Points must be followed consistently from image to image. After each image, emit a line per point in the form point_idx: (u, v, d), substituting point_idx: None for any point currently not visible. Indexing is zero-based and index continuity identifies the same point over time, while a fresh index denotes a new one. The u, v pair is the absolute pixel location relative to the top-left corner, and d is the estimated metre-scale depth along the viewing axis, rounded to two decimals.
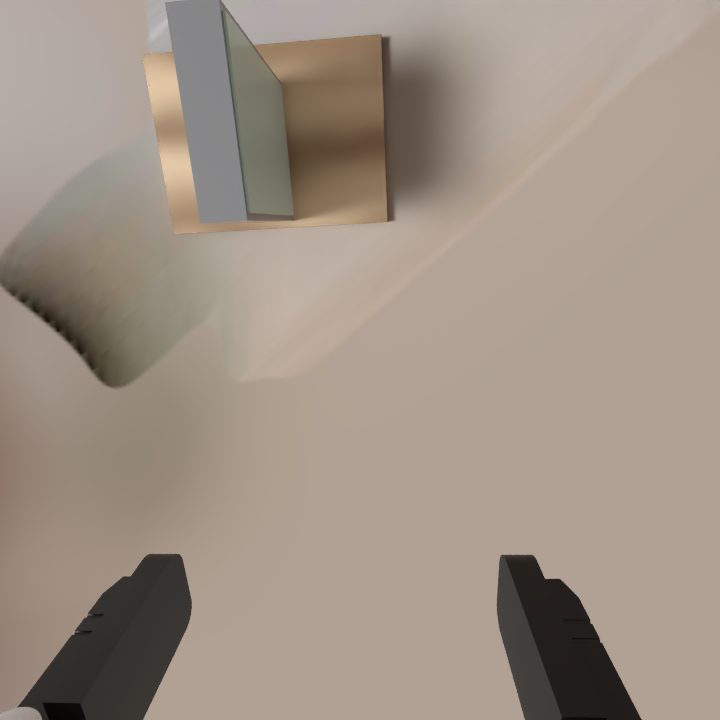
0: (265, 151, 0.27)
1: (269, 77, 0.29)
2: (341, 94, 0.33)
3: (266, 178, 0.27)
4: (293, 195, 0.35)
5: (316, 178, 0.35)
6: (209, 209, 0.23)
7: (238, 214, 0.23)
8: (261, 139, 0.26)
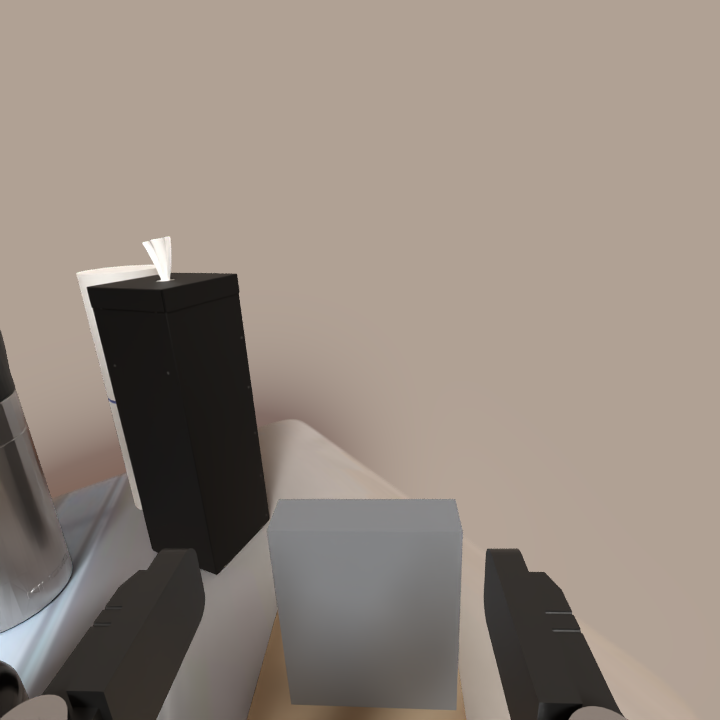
0: None
1: None
2: None
3: None
4: None
5: None
6: (447, 523, 0.22)
7: (449, 504, 0.24)
8: None
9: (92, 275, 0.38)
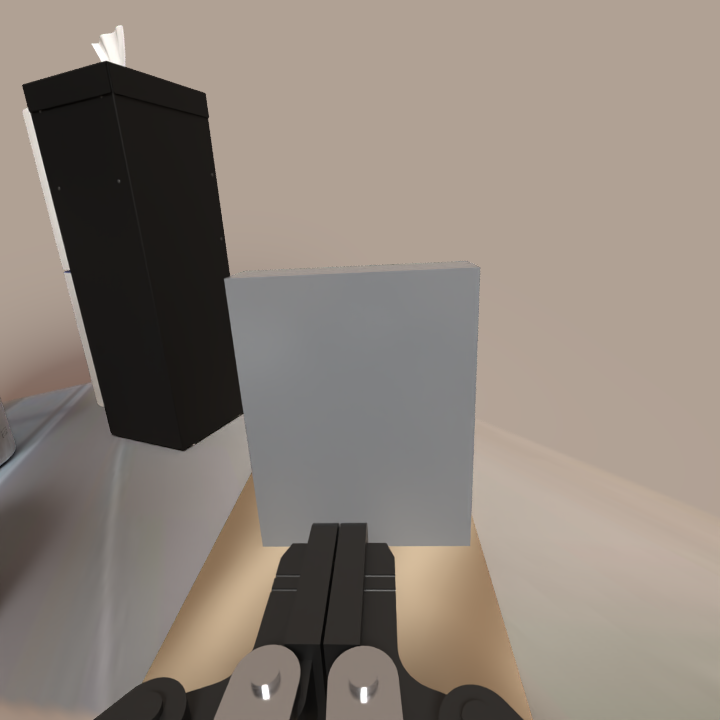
0: None
1: None
2: None
3: None
4: None
5: None
6: (459, 266, 0.17)
7: (461, 262, 0.19)
8: None
9: None
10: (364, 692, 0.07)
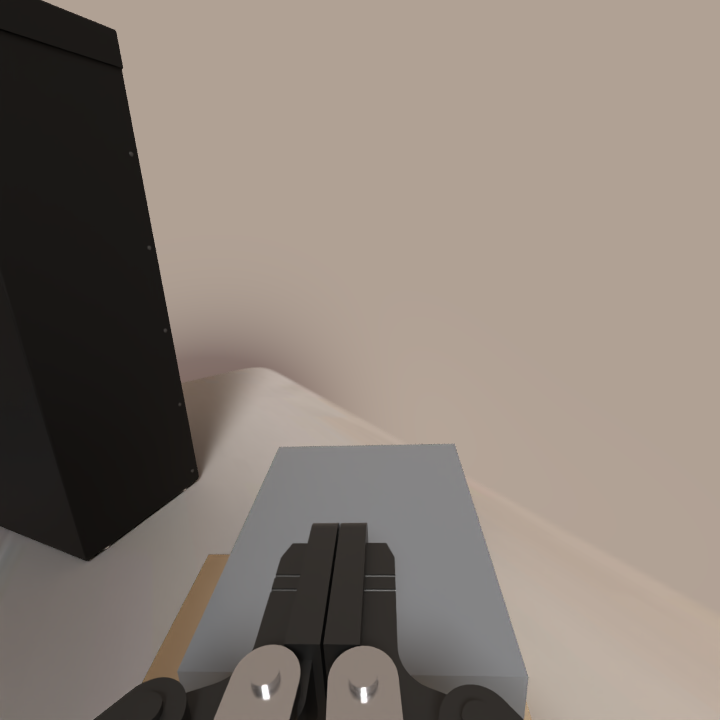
0: None
1: None
2: None
3: None
4: None
5: None
6: None
7: None
8: None
9: None
10: (364, 692, 0.07)
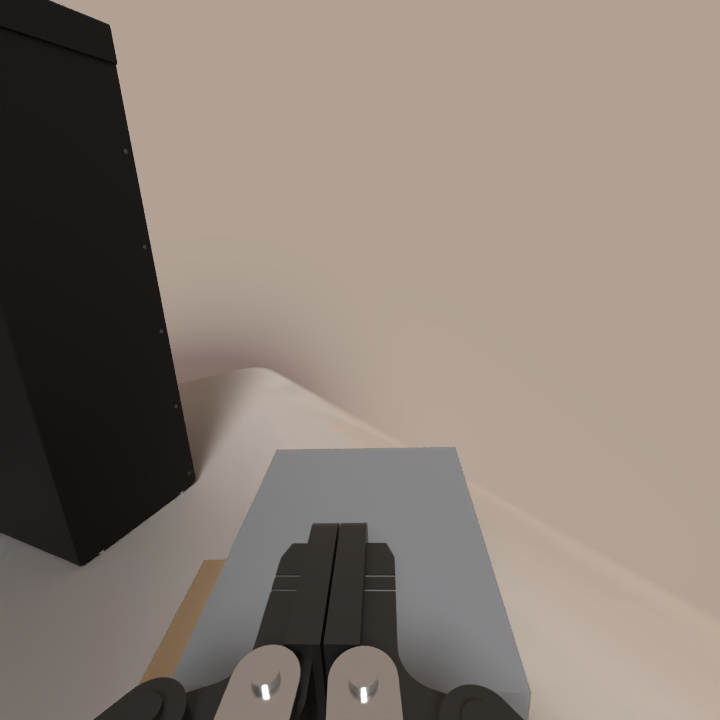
0: None
1: None
2: None
3: None
4: None
5: None
6: None
7: None
8: None
9: None
10: (364, 692, 0.07)
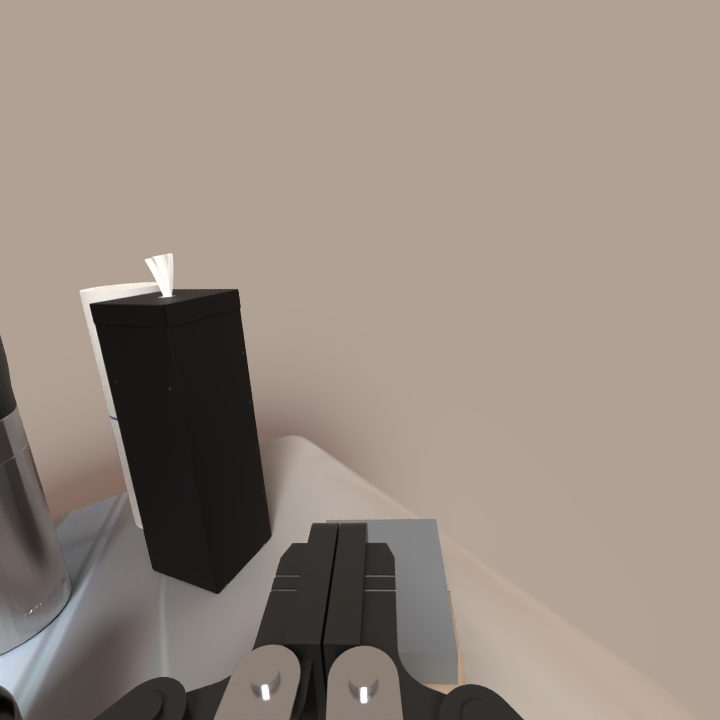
0: None
1: None
2: None
3: None
4: (426, 684, 0.28)
5: None
6: None
7: None
8: None
9: (95, 292, 0.38)
10: (364, 692, 0.07)
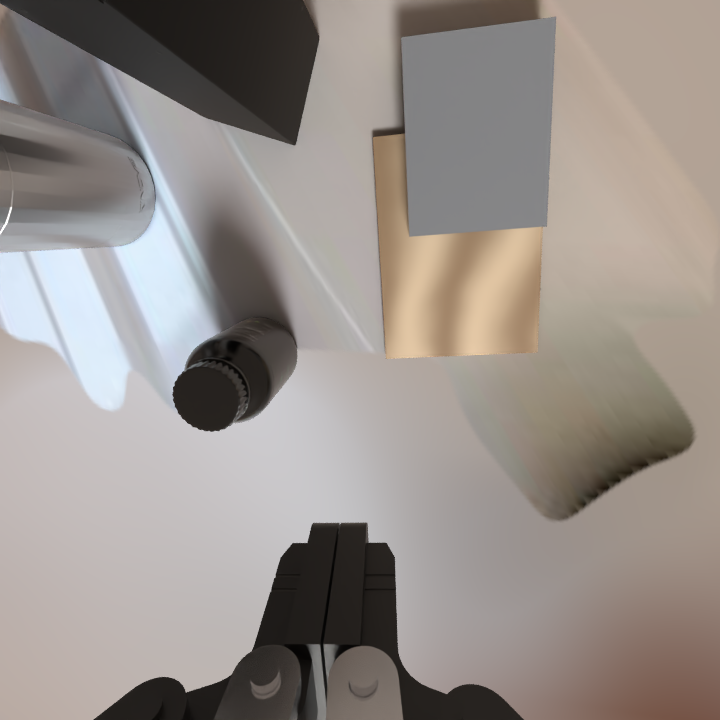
0: None
1: None
2: None
3: None
4: None
5: None
6: None
7: None
8: None
9: None
10: (364, 692, 0.07)
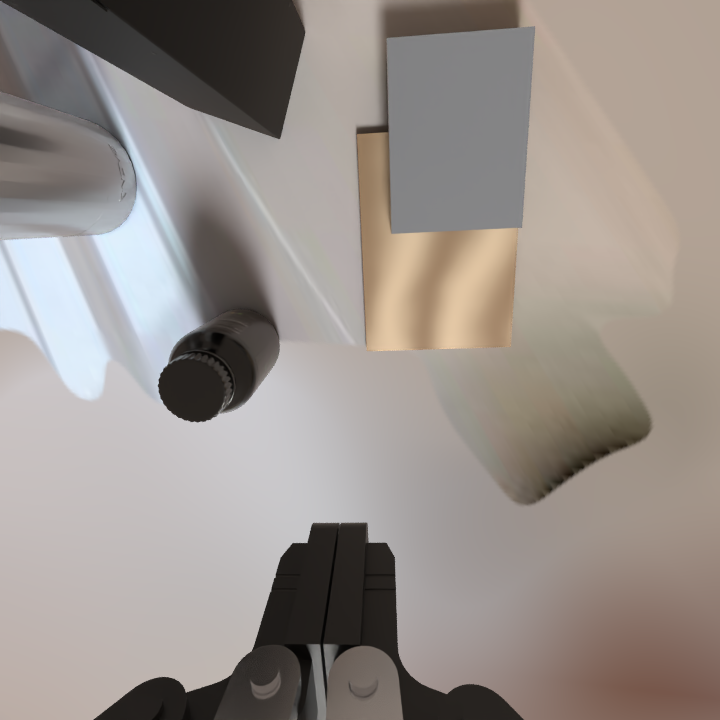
0: None
1: None
2: None
3: None
4: None
5: None
6: None
7: None
8: None
9: None
10: (364, 692, 0.07)
